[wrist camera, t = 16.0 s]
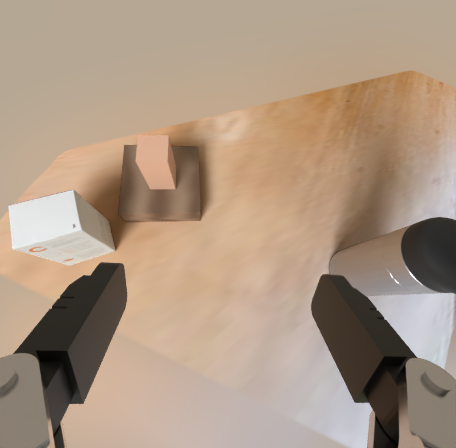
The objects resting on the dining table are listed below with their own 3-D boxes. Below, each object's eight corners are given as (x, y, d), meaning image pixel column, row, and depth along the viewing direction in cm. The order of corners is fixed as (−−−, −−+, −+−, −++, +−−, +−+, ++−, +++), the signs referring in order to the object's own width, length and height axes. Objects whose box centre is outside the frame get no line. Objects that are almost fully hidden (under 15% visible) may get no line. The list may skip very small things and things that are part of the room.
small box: (109, 220, 43) (74, 188, 31) (116, 251, 42) (83, 230, 30) (62, 233, 42) (6, 204, 29) (68, 266, 40) (11, 250, 28)
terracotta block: (176, 167, 43) (168, 135, 35) (175, 189, 42) (167, 161, 33) (151, 167, 43) (137, 135, 34) (150, 189, 42) (135, 161, 33)
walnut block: (198, 161, 50) (198, 146, 46) (200, 221, 46) (200, 212, 41) (131, 160, 49) (124, 145, 44) (126, 223, 44) (118, 213, 39)
